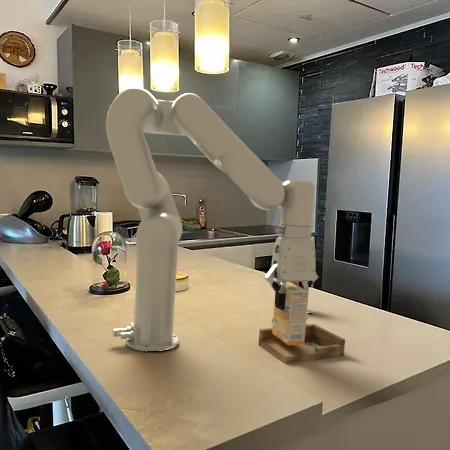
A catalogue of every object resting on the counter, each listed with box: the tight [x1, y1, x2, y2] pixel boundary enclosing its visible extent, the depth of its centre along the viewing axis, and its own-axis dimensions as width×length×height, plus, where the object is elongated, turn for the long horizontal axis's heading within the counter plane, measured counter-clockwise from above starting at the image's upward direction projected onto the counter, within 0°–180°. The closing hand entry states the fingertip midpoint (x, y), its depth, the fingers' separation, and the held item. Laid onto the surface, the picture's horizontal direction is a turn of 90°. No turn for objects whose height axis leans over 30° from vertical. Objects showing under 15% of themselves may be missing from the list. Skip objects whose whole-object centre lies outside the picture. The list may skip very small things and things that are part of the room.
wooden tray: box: [257, 324, 346, 364], centre depth 104 cm, size 17×12×4 cm
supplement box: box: [271, 282, 309, 345], centre depth 101 cm, size 8×5×13 cm, turn 21°
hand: (289, 307), depth 101 cm, fingers closed on supplement box, 5 cm apart
